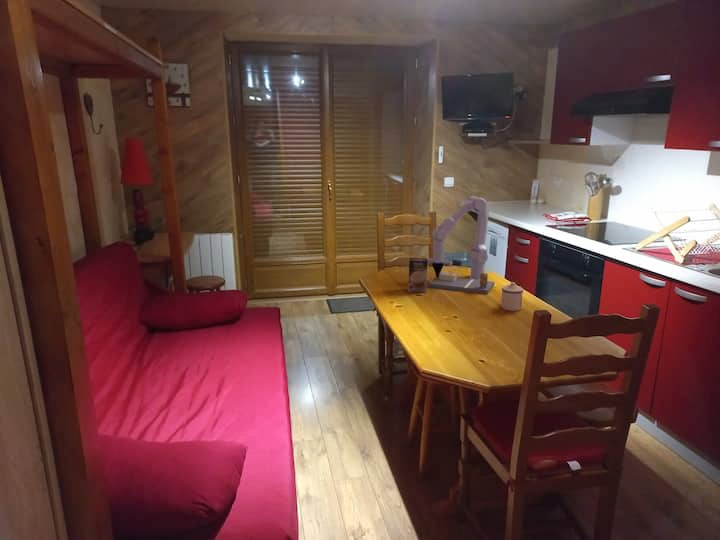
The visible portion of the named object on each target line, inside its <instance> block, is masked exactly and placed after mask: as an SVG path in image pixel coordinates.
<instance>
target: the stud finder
mask: <svg viewBox="0 0 720 540" xmlns="http://www.w3.org/2000/svg"><path fill="white" fill-rule="evenodd" d="M457 278H458V273H456V272H450V271H449V272H447V271H441V273H440V274H439V280H447V281H455V280H456V279H457Z"/></svg>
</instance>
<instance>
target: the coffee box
mask: <svg viewBox="0 0 720 540" xmlns="http://www.w3.org/2000/svg"><path fill="white" fill-rule="evenodd" d="M427 258H428V257H426V258H425V257H423V258H422V257H409V259H408V280H407V281H408V284H407V285H408V286H407V291H408V293H427V289H428V287H427V286H428V260H427Z"/></svg>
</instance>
